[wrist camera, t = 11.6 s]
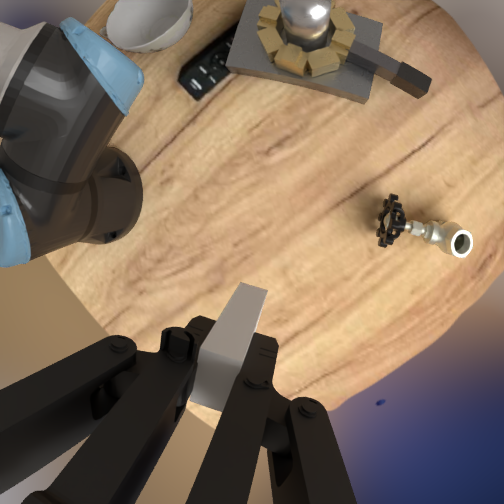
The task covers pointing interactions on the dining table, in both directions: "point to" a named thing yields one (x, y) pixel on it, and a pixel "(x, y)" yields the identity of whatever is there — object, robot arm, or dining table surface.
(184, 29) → the teacup
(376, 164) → the dining table surface
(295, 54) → the grey bar gold ring
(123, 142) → the dining table surface
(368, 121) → the dining table surface
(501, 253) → the dining table surface
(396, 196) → the valve
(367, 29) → the plate
